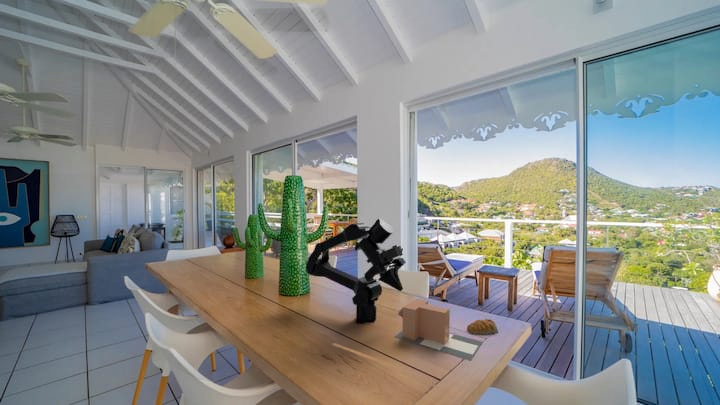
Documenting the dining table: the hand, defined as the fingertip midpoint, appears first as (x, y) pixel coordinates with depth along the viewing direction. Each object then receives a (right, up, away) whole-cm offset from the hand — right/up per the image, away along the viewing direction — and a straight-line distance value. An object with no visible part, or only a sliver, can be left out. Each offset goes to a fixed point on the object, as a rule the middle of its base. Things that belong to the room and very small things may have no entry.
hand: (401, 290), depth 94 cm
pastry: (+26, -14, 0) cm, 30 cm away
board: (+10, -13, -7) cm, 18 cm away
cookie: (+6, -14, +12) cm, 19 cm away
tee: (+7, -12, -5) cm, 15 cm away
